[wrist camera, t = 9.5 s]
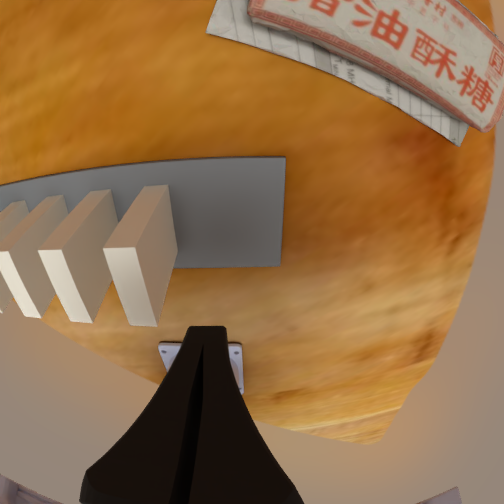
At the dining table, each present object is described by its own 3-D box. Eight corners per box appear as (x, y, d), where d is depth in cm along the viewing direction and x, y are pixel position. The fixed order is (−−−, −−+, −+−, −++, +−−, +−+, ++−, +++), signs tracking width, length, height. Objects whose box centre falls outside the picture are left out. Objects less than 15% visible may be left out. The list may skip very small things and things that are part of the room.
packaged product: (533, 45, 8) (492, 167, 13) (489, 39, 12) (450, 143, 17) (265, -124, 4) (192, 24, 10) (259, -87, 8) (205, 36, 14)
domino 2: (63, 194, 18) (8, 251, 12) (81, 253, 21) (41, 318, 15) (46, 196, 18) (-9, 252, 12) (65, 253, 21) (24, 316, 15)
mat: (279, 262, 22) (280, 266, 22) (-8, 265, 22) (-10, 268, 21) (284, 156, 18) (285, 158, 17) (-36, 194, 17) (-38, 196, 17)
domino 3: (110, 189, 18) (61, 249, 12) (125, 252, 21) (92, 323, 15) (90, 191, 18) (37, 250, 12) (107, 252, 21) (70, 321, 15)
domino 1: (25, 200, 18) (-29, 252, 12) (43, 254, 21) (2, 313, 15) (12, 202, 18) (-41, 253, 12) (31, 254, 20) (-10, 311, 15)
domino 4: (168, 184, 18) (135, 247, 12) (177, 251, 21) (157, 326, 15) (144, 186, 18) (102, 248, 12) (156, 251, 21) (130, 325, 15)
